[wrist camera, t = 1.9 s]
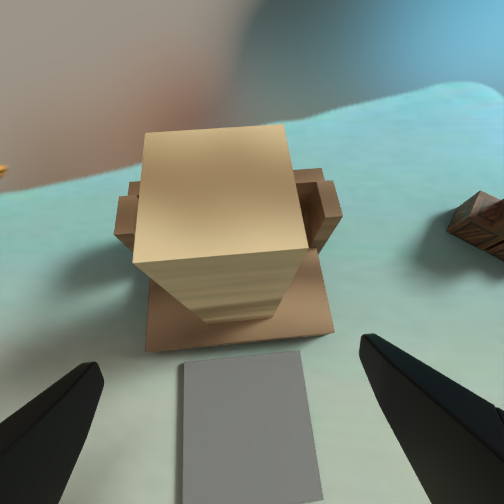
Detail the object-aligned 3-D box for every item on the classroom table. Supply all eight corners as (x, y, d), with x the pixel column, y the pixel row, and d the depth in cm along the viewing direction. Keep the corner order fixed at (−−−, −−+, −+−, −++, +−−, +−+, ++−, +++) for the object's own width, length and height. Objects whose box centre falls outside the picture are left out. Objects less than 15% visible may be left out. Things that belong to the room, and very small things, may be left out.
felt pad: (321, 496, 17) (323, 500, 16) (184, 513, 16) (182, 518, 16) (298, 350, 20) (299, 350, 20) (185, 362, 20) (183, 362, 19)
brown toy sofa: (334, 333, 21) (372, 322, 14) (147, 352, 20) (98, 349, 14) (309, 216, 25) (329, 167, 19) (155, 229, 24) (120, 182, 18)
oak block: (272, 317, 19) (308, 248, 7) (206, 323, 19) (132, 263, 7) (264, 257, 21) (283, 123, 9) (205, 262, 21) (145, 132, 9)
